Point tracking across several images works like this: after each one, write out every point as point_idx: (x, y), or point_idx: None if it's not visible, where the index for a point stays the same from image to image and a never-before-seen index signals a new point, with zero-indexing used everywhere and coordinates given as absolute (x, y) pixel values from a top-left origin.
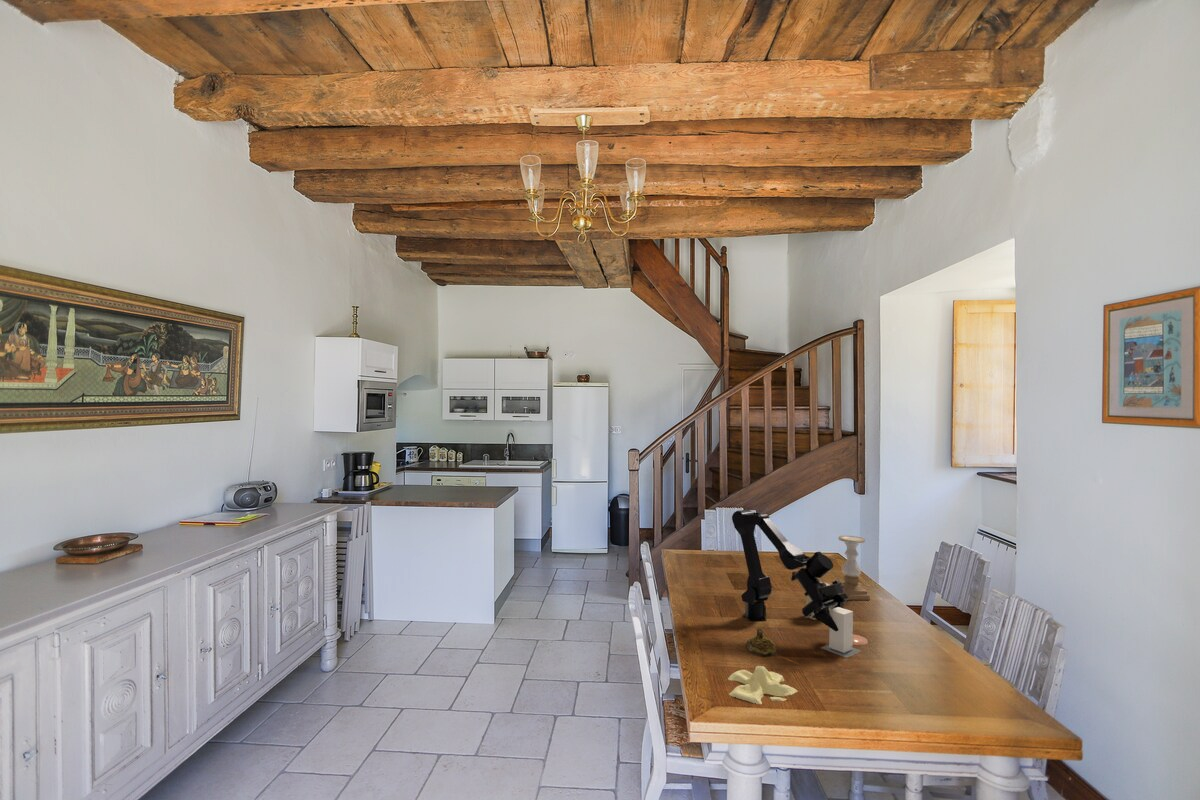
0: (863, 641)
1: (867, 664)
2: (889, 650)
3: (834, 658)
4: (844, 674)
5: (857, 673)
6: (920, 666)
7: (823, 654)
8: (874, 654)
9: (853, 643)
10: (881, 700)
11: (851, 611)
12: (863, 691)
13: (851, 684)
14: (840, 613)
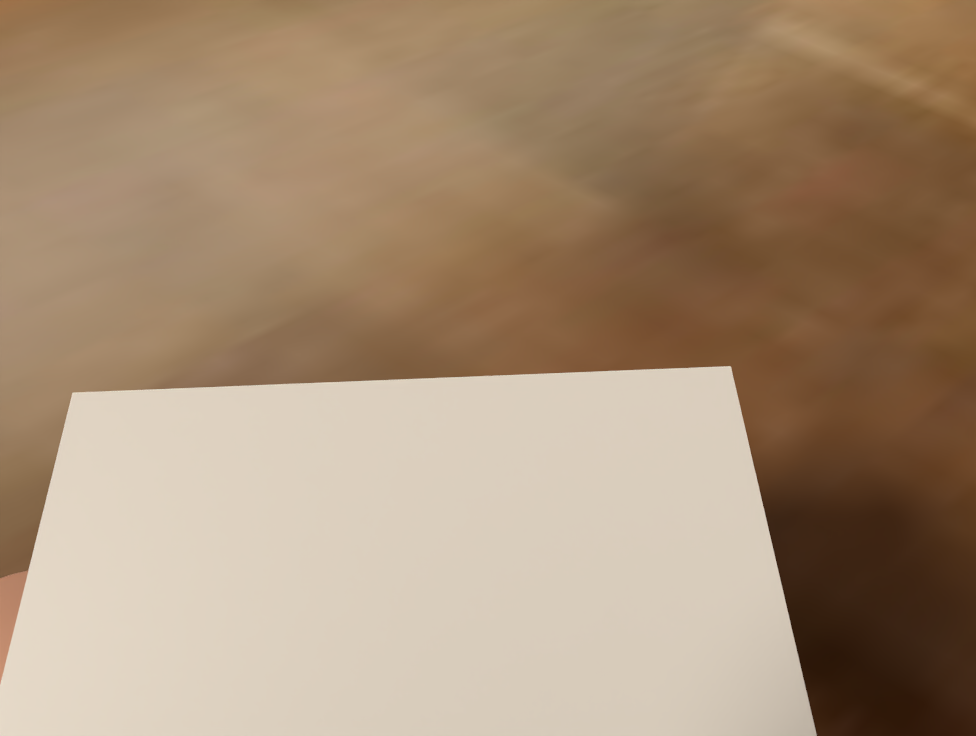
0: (8, 625)
1: (538, 296)
2: (38, 354)
3: None
4: (894, 290)
5: (771, 248)
6: (211, 86)
7: None
8: (262, 379)
9: None
10: (923, 3)
11: (121, 421)
12: (951, 96)
13: (962, 179)
14: (766, 529)
